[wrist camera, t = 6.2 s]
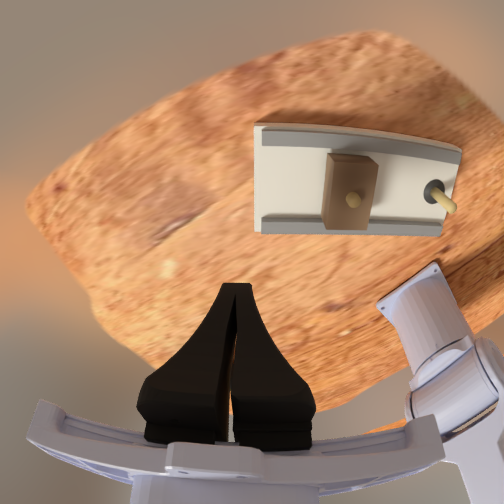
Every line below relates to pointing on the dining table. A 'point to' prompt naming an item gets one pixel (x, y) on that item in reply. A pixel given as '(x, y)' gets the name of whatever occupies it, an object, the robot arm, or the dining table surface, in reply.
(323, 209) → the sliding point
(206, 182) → the dining table surface
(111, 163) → the dining table surface
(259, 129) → the plate
